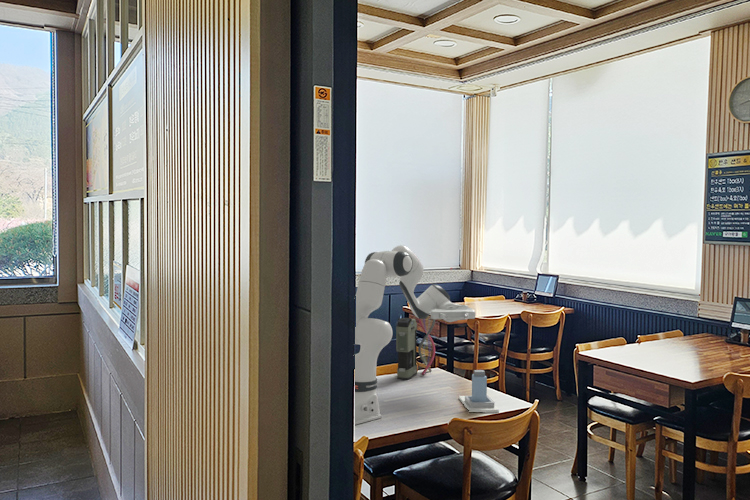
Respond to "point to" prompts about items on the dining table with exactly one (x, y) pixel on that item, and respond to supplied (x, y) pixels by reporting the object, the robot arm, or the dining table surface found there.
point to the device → (406, 348)
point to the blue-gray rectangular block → (479, 386)
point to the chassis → (479, 405)
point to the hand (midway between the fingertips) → (456, 316)
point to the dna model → (427, 344)
